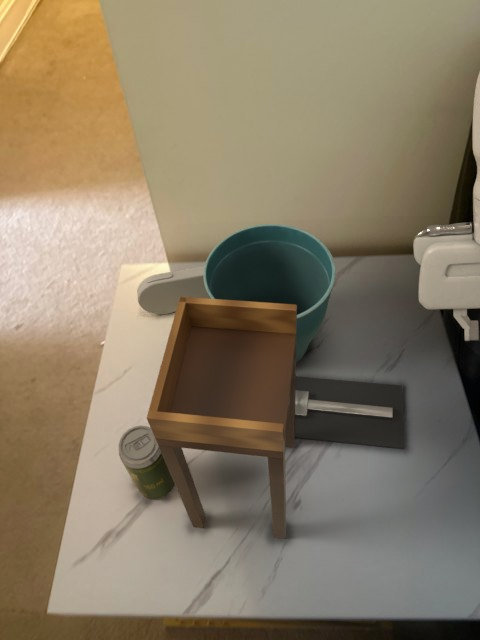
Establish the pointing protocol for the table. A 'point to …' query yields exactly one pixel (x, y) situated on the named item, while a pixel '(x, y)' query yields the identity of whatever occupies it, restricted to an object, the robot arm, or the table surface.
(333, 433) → the mat
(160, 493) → the beer can
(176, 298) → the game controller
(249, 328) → the stand
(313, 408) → the fork
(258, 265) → the flower pot
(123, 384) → the table surface
